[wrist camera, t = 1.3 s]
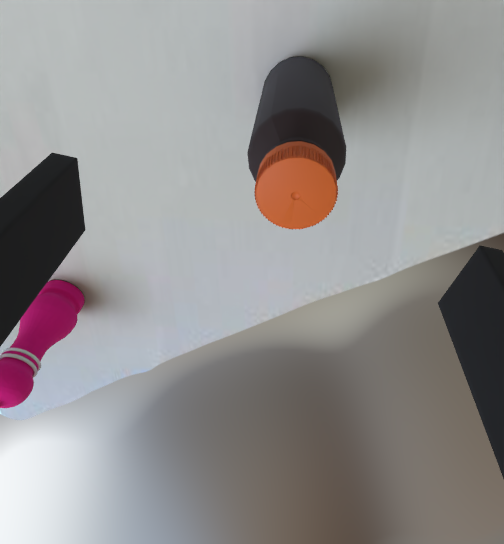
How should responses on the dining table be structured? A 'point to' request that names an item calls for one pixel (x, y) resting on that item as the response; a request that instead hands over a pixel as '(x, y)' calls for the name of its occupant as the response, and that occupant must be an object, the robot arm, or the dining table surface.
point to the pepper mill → (37, 338)
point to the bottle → (297, 145)
